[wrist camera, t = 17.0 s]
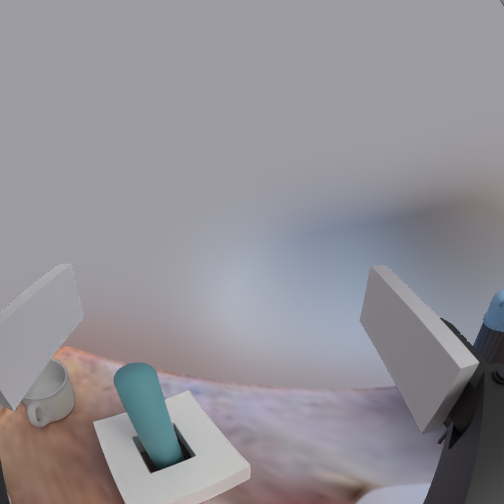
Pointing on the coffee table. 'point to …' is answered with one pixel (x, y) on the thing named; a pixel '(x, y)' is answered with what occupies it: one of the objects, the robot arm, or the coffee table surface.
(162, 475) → the socket block
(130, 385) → the peg
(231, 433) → the coffee table surface
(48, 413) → the teacup
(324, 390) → the coffee table surface
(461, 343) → the robot arm
